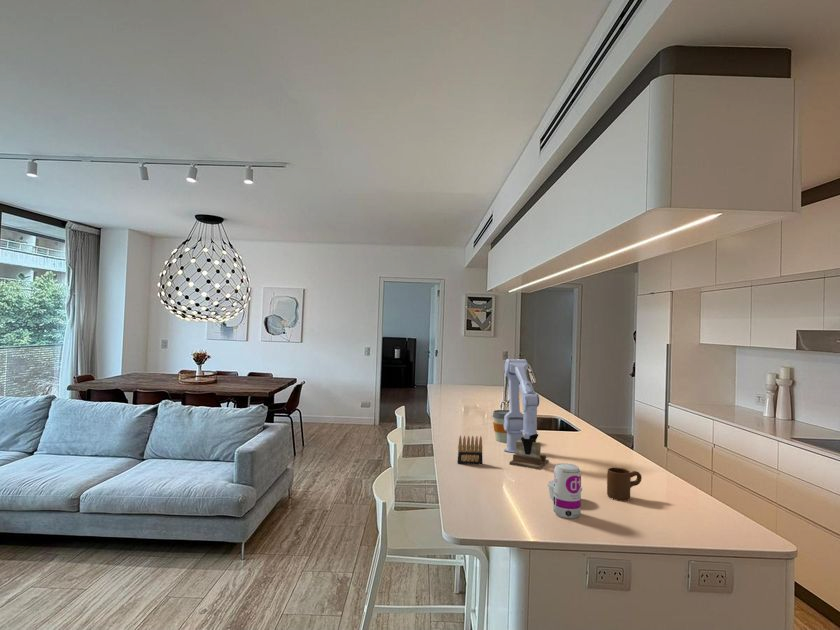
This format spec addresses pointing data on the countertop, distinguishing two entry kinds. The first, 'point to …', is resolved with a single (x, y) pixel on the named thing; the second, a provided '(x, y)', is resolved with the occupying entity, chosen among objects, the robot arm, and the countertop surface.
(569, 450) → the countertop surface
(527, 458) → the notched stand
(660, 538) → the countertop surface
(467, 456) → the ammunition clip
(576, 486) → the supplement can
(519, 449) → the beige wooden block
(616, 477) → the mug
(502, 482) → the countertop surface
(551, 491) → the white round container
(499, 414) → the reusable coffee cup
